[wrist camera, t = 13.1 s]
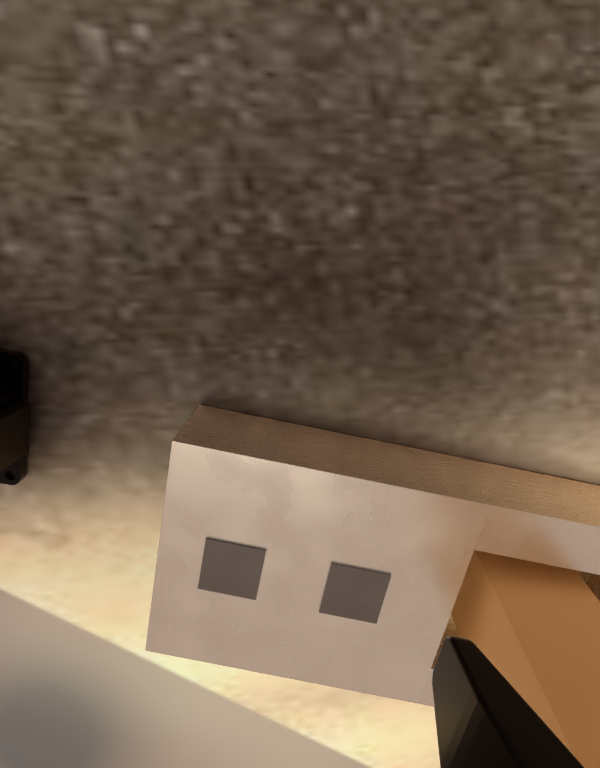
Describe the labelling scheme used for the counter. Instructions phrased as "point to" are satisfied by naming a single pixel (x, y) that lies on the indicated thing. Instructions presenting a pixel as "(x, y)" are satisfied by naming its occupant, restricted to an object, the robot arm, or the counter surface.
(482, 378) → the counter surface
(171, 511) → the white peg board
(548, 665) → the orange post
